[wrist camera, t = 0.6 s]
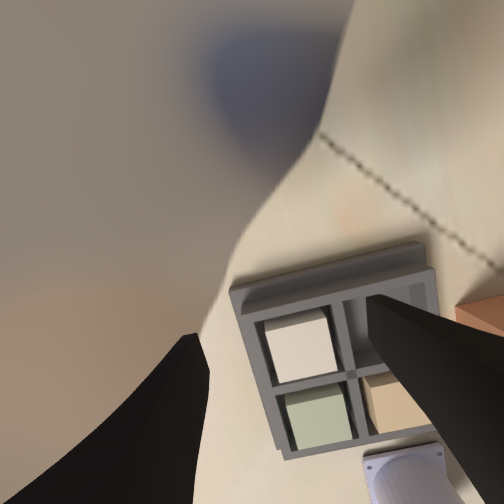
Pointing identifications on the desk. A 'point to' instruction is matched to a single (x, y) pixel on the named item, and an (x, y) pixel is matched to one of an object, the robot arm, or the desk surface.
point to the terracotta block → (483, 315)
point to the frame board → (342, 328)
